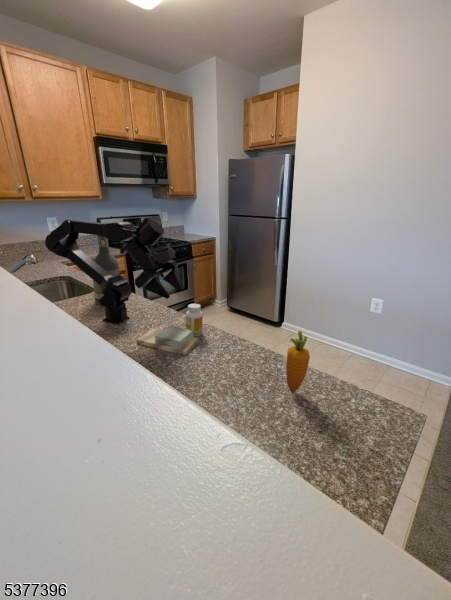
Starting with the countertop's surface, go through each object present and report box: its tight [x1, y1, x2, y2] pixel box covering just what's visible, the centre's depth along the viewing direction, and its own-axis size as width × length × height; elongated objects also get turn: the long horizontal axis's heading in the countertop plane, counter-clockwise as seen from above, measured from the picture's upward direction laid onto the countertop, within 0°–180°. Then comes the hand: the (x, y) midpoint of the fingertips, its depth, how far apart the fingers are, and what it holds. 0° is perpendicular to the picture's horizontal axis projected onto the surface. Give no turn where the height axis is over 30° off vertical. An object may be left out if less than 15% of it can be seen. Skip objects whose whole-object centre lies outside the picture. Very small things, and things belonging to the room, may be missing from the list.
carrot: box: [285, 330, 311, 393], centre depth 61 cm, size 5×5×15 cm
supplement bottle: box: [185, 303, 203, 337], centre depth 88 cm, size 5×5×10 cm
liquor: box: [92, 235, 120, 307], centre depth 108 cm, size 9×9×30 cm
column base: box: [136, 325, 200, 356], centre depth 82 cm, size 16×9×4 cm, turn 70°
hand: (175, 293), depth 87 cm, fingers open, 9 cm apart
